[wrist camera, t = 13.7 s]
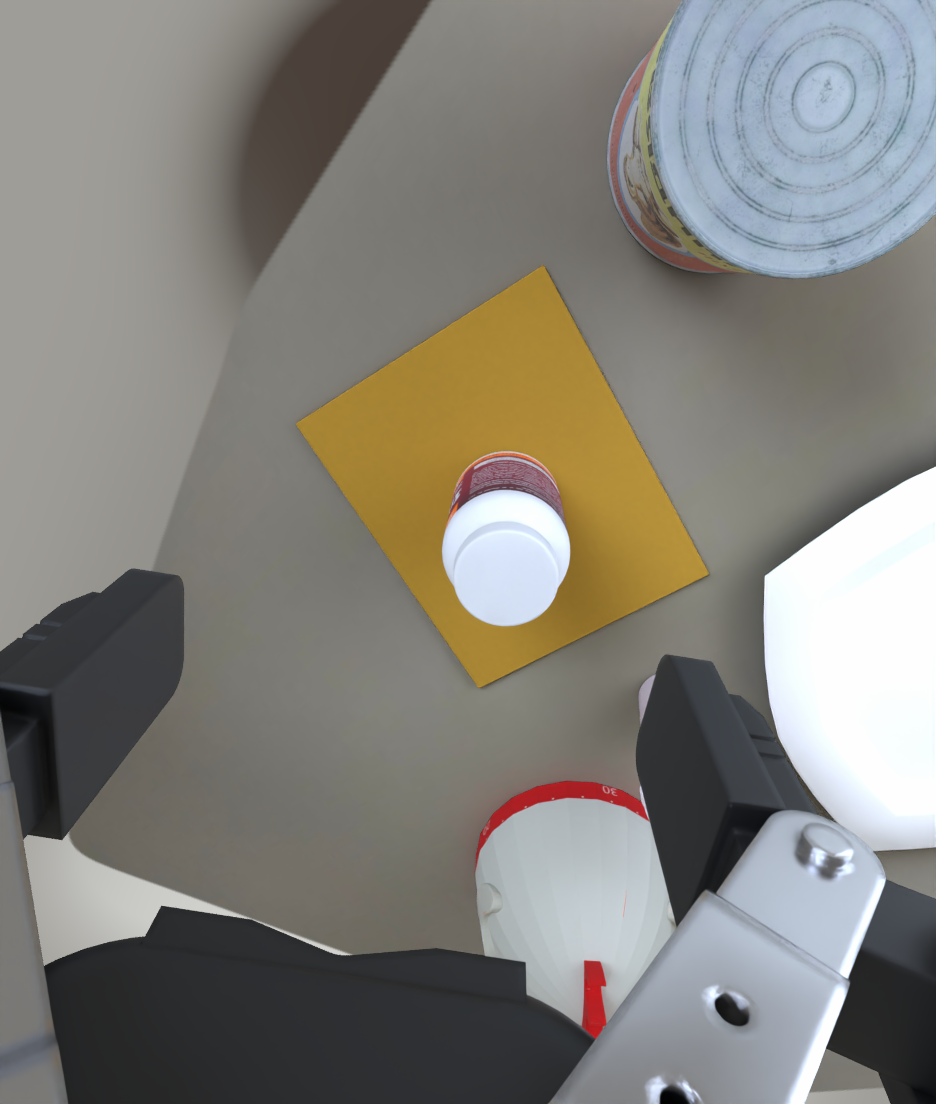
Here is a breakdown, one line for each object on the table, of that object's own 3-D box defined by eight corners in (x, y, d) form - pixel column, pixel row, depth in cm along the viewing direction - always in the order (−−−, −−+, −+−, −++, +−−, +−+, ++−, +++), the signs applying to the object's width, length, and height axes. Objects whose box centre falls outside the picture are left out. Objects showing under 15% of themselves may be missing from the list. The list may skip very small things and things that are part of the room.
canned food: (570, 88, 35) (599, 7, 24) (805, -46, 32) (961, -206, 21) (656, 312, 38) (717, 334, 27) (874, 205, 36) (1038, 182, 25)
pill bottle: (441, 461, 41) (419, 527, 31) (548, 437, 41) (562, 498, 30) (466, 560, 44) (454, 652, 33) (568, 539, 43) (587, 628, 33)
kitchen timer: (474, 924, 55) (462, 1149, 41) (478, 776, 50) (466, 976, 36) (660, 935, 55) (711, 1166, 41) (683, 786, 49) (751, 993, 36)
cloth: (296, 423, 41) (295, 424, 41) (543, 265, 38) (543, 265, 37) (478, 686, 47) (478, 688, 47) (708, 572, 44) (709, 574, 43)
